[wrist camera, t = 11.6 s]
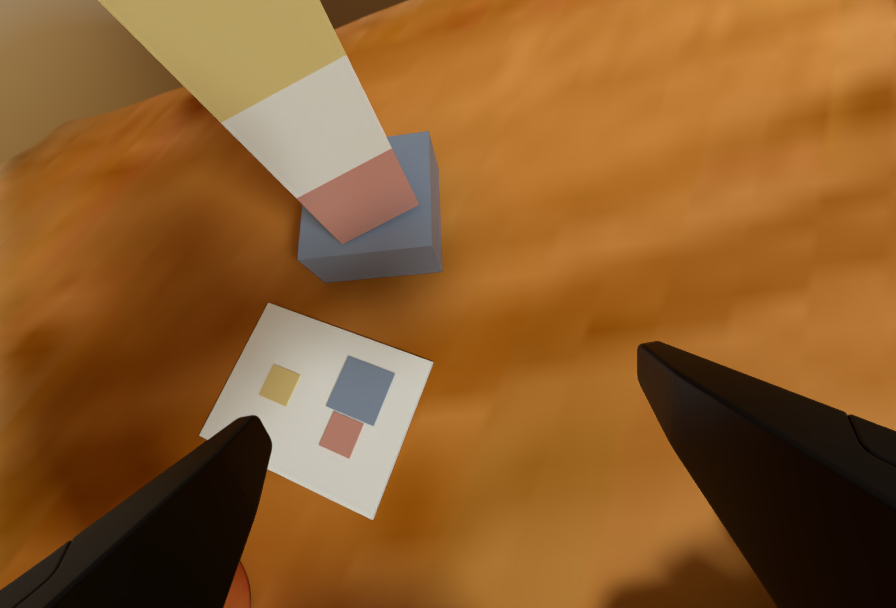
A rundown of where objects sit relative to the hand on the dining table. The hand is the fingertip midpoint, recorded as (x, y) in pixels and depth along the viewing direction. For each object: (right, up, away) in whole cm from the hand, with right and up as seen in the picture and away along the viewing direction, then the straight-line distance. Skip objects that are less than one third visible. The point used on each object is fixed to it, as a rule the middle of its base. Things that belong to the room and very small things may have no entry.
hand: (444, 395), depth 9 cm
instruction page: (-8, -4, +14) cm, 17 cm away
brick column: (-5, +9, +14) cm, 17 cm away
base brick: (-4, +8, +18) cm, 20 cm away
